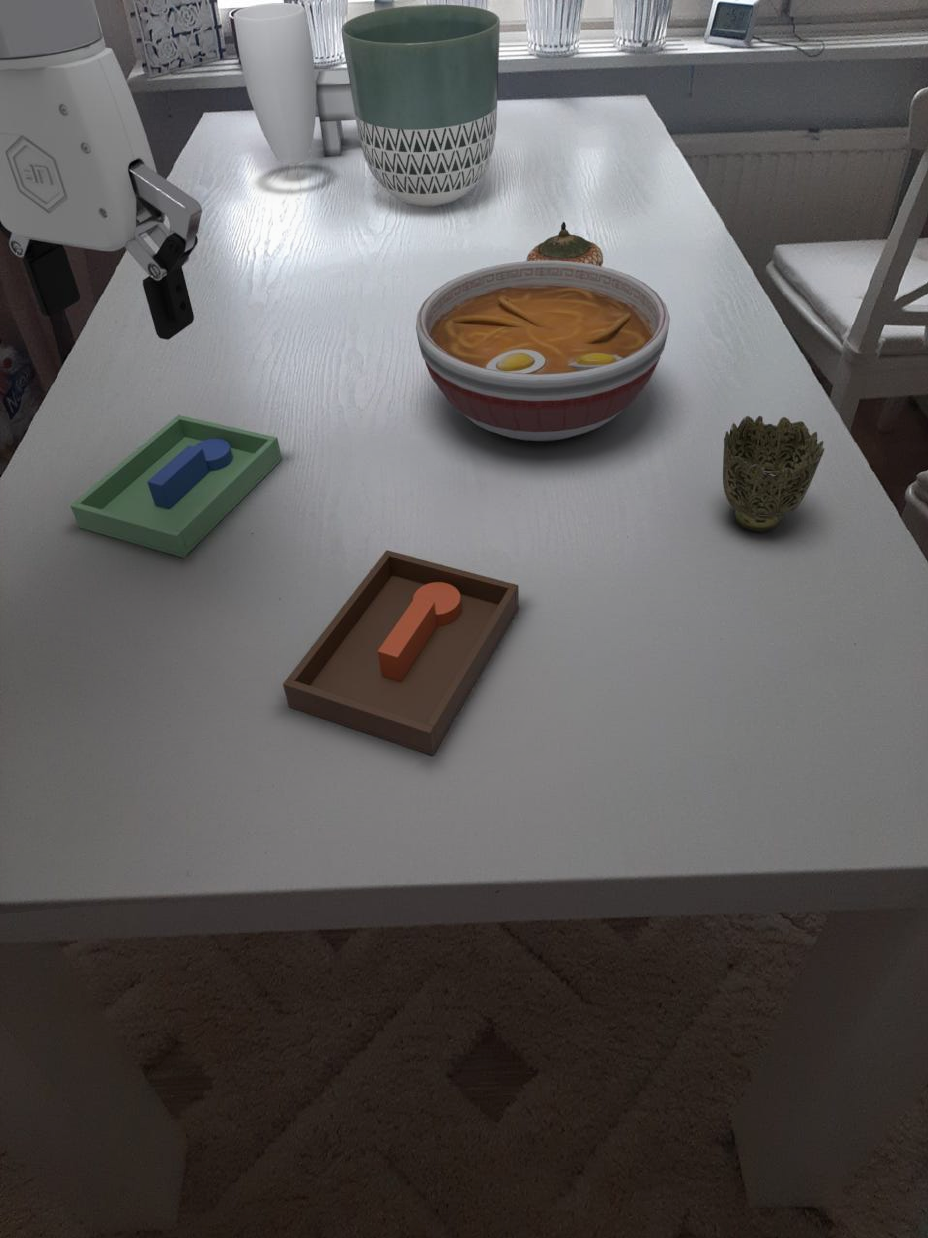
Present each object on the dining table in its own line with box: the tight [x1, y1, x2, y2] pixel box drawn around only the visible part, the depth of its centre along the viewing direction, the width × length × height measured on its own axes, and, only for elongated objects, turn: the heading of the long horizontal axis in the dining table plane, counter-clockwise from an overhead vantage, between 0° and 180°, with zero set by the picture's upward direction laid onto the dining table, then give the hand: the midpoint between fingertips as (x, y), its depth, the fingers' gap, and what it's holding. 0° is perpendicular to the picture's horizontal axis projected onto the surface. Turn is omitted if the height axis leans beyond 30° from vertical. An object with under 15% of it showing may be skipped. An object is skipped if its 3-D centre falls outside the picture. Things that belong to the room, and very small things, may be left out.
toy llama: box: [315, 0, 396, 157], centre depth 142 cm, size 8×18×20 cm, turn 92°
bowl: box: [415, 260, 671, 442], centre depth 88 cm, size 23×23×10 cm
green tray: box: [70, 414, 283, 559], centre depth 83 cm, size 15×11×2 cm
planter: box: [341, 4, 501, 207], centre depth 124 cm, size 20×20×21 cm
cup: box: [232, 2, 317, 165], centre depth 132 cm, size 10×10×22 cm
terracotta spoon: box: [378, 582, 461, 682], centre depth 68 cm, size 10×4×3 cm, turn 156°
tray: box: [282, 550, 520, 756], centre depth 68 cm, size 15×11×2 cm
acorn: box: [525, 221, 604, 267], centre depth 102 cm, size 8×8×10 cm
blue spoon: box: [147, 439, 233, 509], centre depth 84 cm, size 10×4×3 cm, turn 156°
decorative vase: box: [722, 415, 825, 533], centre depth 75 cm, size 8×7×8 cm
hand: (118, 318), depth 63 cm, fingers open, 9 cm apart
